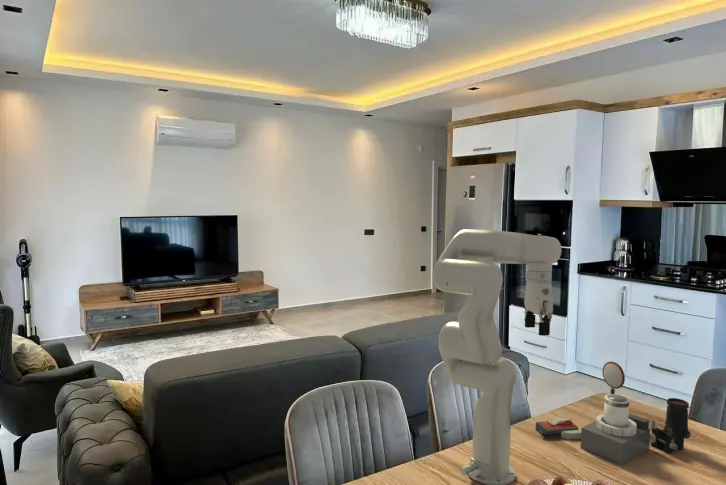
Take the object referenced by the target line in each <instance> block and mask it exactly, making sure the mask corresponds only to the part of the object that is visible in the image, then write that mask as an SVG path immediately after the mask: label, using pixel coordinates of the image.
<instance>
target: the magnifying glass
mask: <svg viewBox="0 0 726 485" xmlns="http://www.w3.org/2000/svg"><path fill="white" fill-rule="evenodd" d="M602 378H603V379H604V382H605V383H606V385H607V386H608V387H610V394H615V393H616V389H617V390H618V389H621V388H622V387H623V385H625V381H626V380H625V379H626V376H625V371H624V370H623V368H622V367H621V366H620V365H619V364H618V363H617V362H615V361H607V362H606V363H604V365H603V367H602Z"/></svg>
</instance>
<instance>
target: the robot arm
mask: <svg viewBox="0 0 726 485" xmlns="http://www.w3.org/2000/svg"><path fill="white" fill-rule="evenodd" d="M561 256H562V245H561V243H560V241H559V239H557V238H556V237H553V236H547V235H534V234H527V233H522V232H514V231H513V232H512V231H504V230H496V229H478V228H476V229H473V228H467V229H466V228H465V229H461V230H459V231H458V232H457V233H456V234H455V235H454V236H453V237H452V238H451V239H450V240H449V243H448V244H447V245H446V247H445V249H444V250H443V251H442V253H441V255H440V256H439V258H438V259H437V261H436V263H435V265H434V266H433V271H432V282H433V284H434V286H435V287H436V289H437V290H439V291H441V292H444V293H449V294H450V293H451V294H460V295H466V296H471V297H470V299H469V301H467V302H466V303H465V304H464V305H463V306H462V308H461V309H460V311H459V313H458V315H457V321H449V322H447V323H445V324H444V325H443V326H442V327H441V329H440V332H439V335H438V349H439V354H440V356H441V358H442V361H443V363H444V366H445V369H446V371H447V373H448V376H449V378H450V379H451V380H452V381H453V382H454V383H455V384H457V385H459V386H463V387H465V388H470V389H473V390H477V391H480V392H482V395H481V396H480V397H479V398H478V399H477V400H476V401H475V403H474V406H473V411H472V413H473V419H472V420H473V421H472V423H473V426H472V428H473V429H472V457H469V461H468V462H467V463H466V465H464V466H462V467H460V473H461V475H463V476H466V475H468V476H469V477H470V478H471V479H472V480H473V481H475V482H478V483H480V484H483V485H509V484H511V483H513V482H514V480H515V479H516V470H515V468H514V467H513V466H512V465H511V464H510V462H511V461H510V456H511V424H512V423H511V422H512V420H511V419H512V418H511V417H512V401H513V394H514V390H515V384H516V379H517V371H516V370H517V369H516V367H515V365H514V364H513V363H512V362H511V360H509V359H507V358H504V357H501V356H502V353H503V352H502V343H501V339H500V336H499V335H500V334H499V332H498V330H497V326H496V322H495V317H494V314H495V309H496V306H497V304H498V301H499V297H500V294H501V290H502V287H503V282H504V278H503V277H504V276H503V272H502V270H501V268H500V267H499V266H498V265H497V264H511V265H515V264H517V265H525V281H526V282H525V283H526V284H525V293H524V299H523V303H524V306H523V308H524V327H525V328H527V329H528V328H536V315H538V317H539V318H538V319H539V322H538V335H539V336H540V337H541V336H550V333H551V329H550V328H551V323H552V318H553V313H554V297H553V296H554V295H553V293H554V292H553V285H552V273H553V264H555V263H557V262H558V261H559V260H560V258H561Z"/></svg>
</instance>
